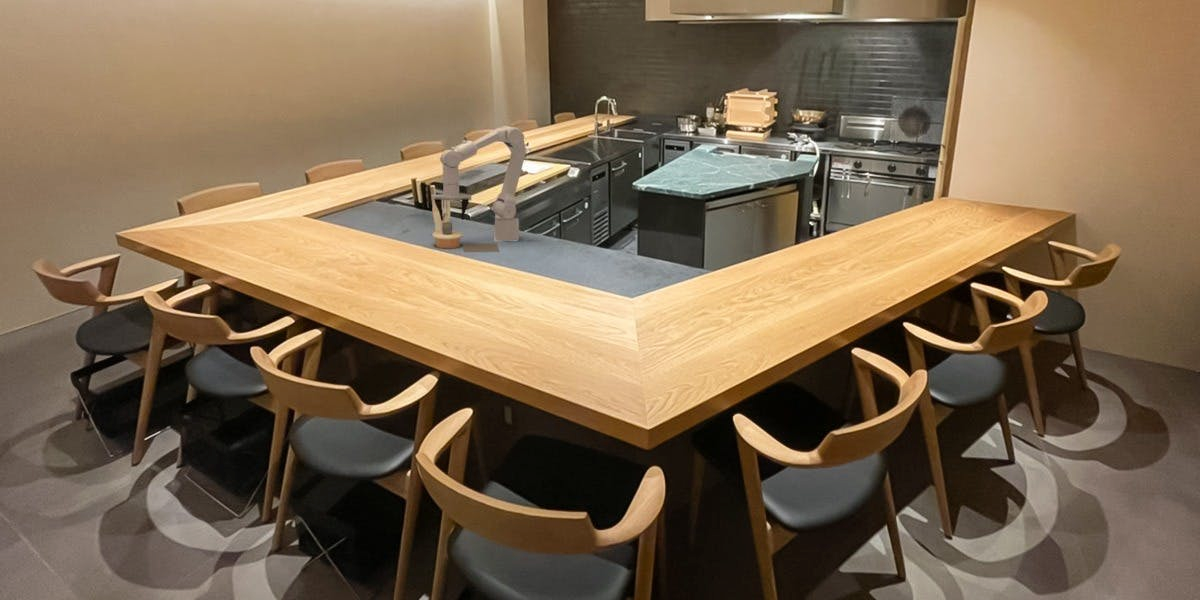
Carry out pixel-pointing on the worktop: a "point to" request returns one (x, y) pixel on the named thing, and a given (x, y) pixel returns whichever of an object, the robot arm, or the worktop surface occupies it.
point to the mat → (480, 247)
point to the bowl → (447, 243)
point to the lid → (447, 232)
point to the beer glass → (444, 212)
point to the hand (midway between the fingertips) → (452, 219)
